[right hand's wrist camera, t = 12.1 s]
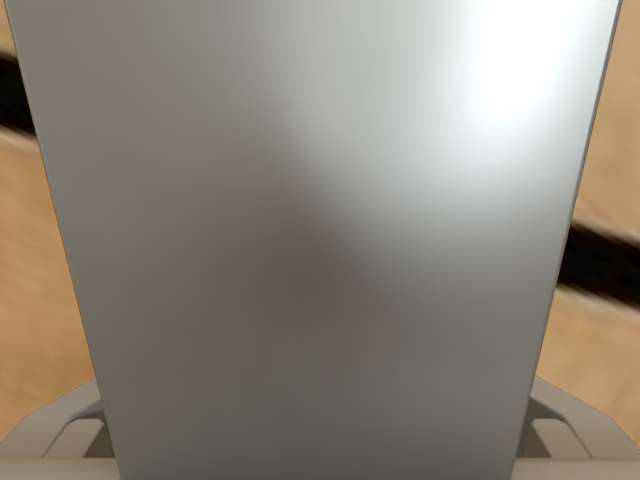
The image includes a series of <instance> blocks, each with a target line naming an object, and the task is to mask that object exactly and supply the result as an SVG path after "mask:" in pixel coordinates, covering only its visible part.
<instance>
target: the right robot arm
mask: <svg viewBox="0 0 640 480" xmlns="http://www.w3.org/2000/svg"><path fill="white" fill-rule="evenodd" d="M0 480H121V478H120V474H119V470H118V466H117V462H116V458H115V454H114V450H113V445H112V441H111V437H110V433H109V429H108V425H107V421H106V417H105V413H104V409H103V405H102V401H101V397H100V392H99V388H98V384H97V380H96V378H94V379H92V380H90V381H89V382H87V383H85V384H83V385H81V386H79V387H78V388H76V389H74V390H72V391H70V392H68V393H67V394H65V395H63V396H61V397H59V398H57V399H56V400H54V401H52V402H50V403H48V404H46V405H45V406H43V407H41V408H39V409H37V410H35V411H34V412H32V413H30V414H28V415H26V416H24V417H23V418H22V419H21V421H20V422H19V423H18V424H17V425H16V426H15V427H14V429H13V430H12V431H11V432H10V433H9V434H8V435H7V436H6V438H5V439H4V440H3V441H2V442H1V443H0ZM511 480H640V450H639V448H638V447H637V446H636V445H635V444H634V443H633V441H632V440H631V439H630V438H629V437H628V436H627V434H626V433H625V432H624V431H623V430H622V429H621V427H620V426H619V425H618V424H617V423H616V422H615V420H614V419H613V418H612V417H610V416H608V415H607V414H605V413H603V412H601V411H599V410H597V409H596V408H594V407H592V406H590V405H588V404H587V403H585V402H583V401H581V400H579V399H578V398H576V397H574V396H572V395H570V394H569V393H567V392H565V391H563V390H561V389H559V388H558V387H556V386H554V385H552V384H550V383H549V382H547V381H545V380H543V379H541V378H540V377H538V376H536V375H535V377H534V381H533V386H532V390H531V394H530V398H529V403H528V407H527V411H526V416H525V420H524V424H523V428H522V433H521V437H520V441H519V445H518V450H517V454H516V458H515V463H514V467H513V471H512V475H511Z"/></svg>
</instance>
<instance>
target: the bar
mask: <svg viewBox="0 0 640 480" xmlns="http://www.w3.org/2000/svg"><path fill="white" fill-rule="evenodd" d="M3 1H4V5H5V9H6V13H7V17H8V22H9V26H10V30H11V34H12V38H13V42H14V46H15V50H16V54H17V58H18V62H19V66H20V70H21V75H22V79H23V83H24V87H25V91H26V95H27V99H28V103H29V107H30V111H31V115H32V119H33V123H34V128H35V132H36V136H37V140H38V144H39V148H40V152H41V156H42V160H43V164H44V168H45V172H46V176H47V180H48V185H49V189H50V193H51V197H52V201H53V205H54V209H55V213H56V217H57V221H58V225H59V229H60V233H61V238H62V242H63V246H64V250H65V254H66V258H67V262H68V266H69V270H70V274H71V278H72V282H73V286H74V291H75V295H76V299H77V303H78V307H79V311H80V315H81V319H82V323H83V327H84V331H85V335H86V339H87V344H88V348H89V352H90V356H91V360H92V364H93V368H94V372H95V376H96V380H97V384H98V388H99V392H100V397H101V401H102V405H103V409H104V413H105V417H106V421H107V425H108V429H109V433H110V437H111V441H112V445H113V450H114V454H115V458H116V462H117V466H118V470H119V474H120V478H121V480H511V475H512V471H513V467H514V463H515V458H516V454H517V450H518V445H519V441H520V437H521V433H522V428H523V424H524V420H525V416H526V411H527V407H528V403H529V398H530V394H531V390H532V386H533V381H534V377H535V373H536V369H537V364H538V360H539V356H540V351H541V347H542V343H543V339H544V334H545V330H546V326H547V322H548V317H549V313H550V309H551V304H552V300H553V296H554V292H555V287H556V283H557V279H558V275H559V270H560V266H561V262H562V257H563V253H564V249H565V245H566V240H567V236H568V232H569V228H570V223H571V219H572V215H573V210H574V206H575V202H576V198H577V193H578V189H579V185H580V181H581V176H582V172H583V168H584V163H585V159H586V155H587V151H588V146H589V142H590V138H591V134H592V129H593V125H594V121H595V116H596V112H597V108H598V104H599V99H600V95H601V91H602V87H603V82H604V78H605V74H606V70H607V65H608V61H609V57H610V52H611V48H612V44H613V40H614V35H615V31H616V27H617V23H618V18H619V14H620V10H621V5H622V1H623V0H3Z"/></svg>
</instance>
